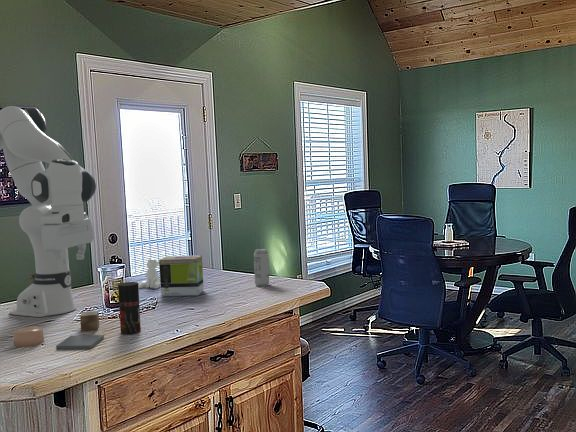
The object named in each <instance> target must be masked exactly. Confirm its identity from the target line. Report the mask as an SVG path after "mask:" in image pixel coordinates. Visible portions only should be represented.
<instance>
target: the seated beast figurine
mask: <svg viewBox="0 0 576 432" xmlns="http://www.w3.org/2000/svg"><path fill="white" fill-rule="evenodd" d="M146 266H147V270H146V273H145V276H146V279H145V280H143V281H141V282H138V288H139V289H143V288H145V289H146V288H149V287H150V288H151V289H155V290H156V289H159V288H160V286H161V284H160V275H158V274H159V273H158V270H157V268H158V266H159V261H157V259H154V258H149V259H147V263H146ZM150 288H149V289H150Z"/></svg>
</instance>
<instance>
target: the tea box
mask: <svg viewBox="0 0 576 432" xmlns="http://www.w3.org/2000/svg"><path fill="white" fill-rule="evenodd" d="M158 262H159V265H158V266H159V279H160V295H161V297H174V296H176V297H177V296H180V297H181V296H199V295H201V293H203V292H204V273H203V271H204V270H203V256H202V255H197V254H196V255H171V256H169V255H168V256H165V257H163V258H160V259H159V260H158Z"/></svg>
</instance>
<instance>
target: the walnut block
mask: <svg viewBox="0 0 576 432" xmlns="http://www.w3.org/2000/svg"><path fill="white" fill-rule="evenodd" d="M99 315H100V314H99V310H95V311H93V310H92V311H82V312H81V313H80V315H79V320H80V332H81V333H82V332H92V331H99V328H100V316H99Z"/></svg>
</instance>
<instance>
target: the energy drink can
mask: <svg viewBox="0 0 576 432" xmlns="http://www.w3.org/2000/svg"><path fill="white" fill-rule="evenodd" d="M269 262H270V261H269V252H268V251H267V248H256V249H254V253H253V267H254V269H253V270H254V272H253V273H254V284H255V286H256V287H267V286H269V284H270V269H269V268H270V265H269Z"/></svg>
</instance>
